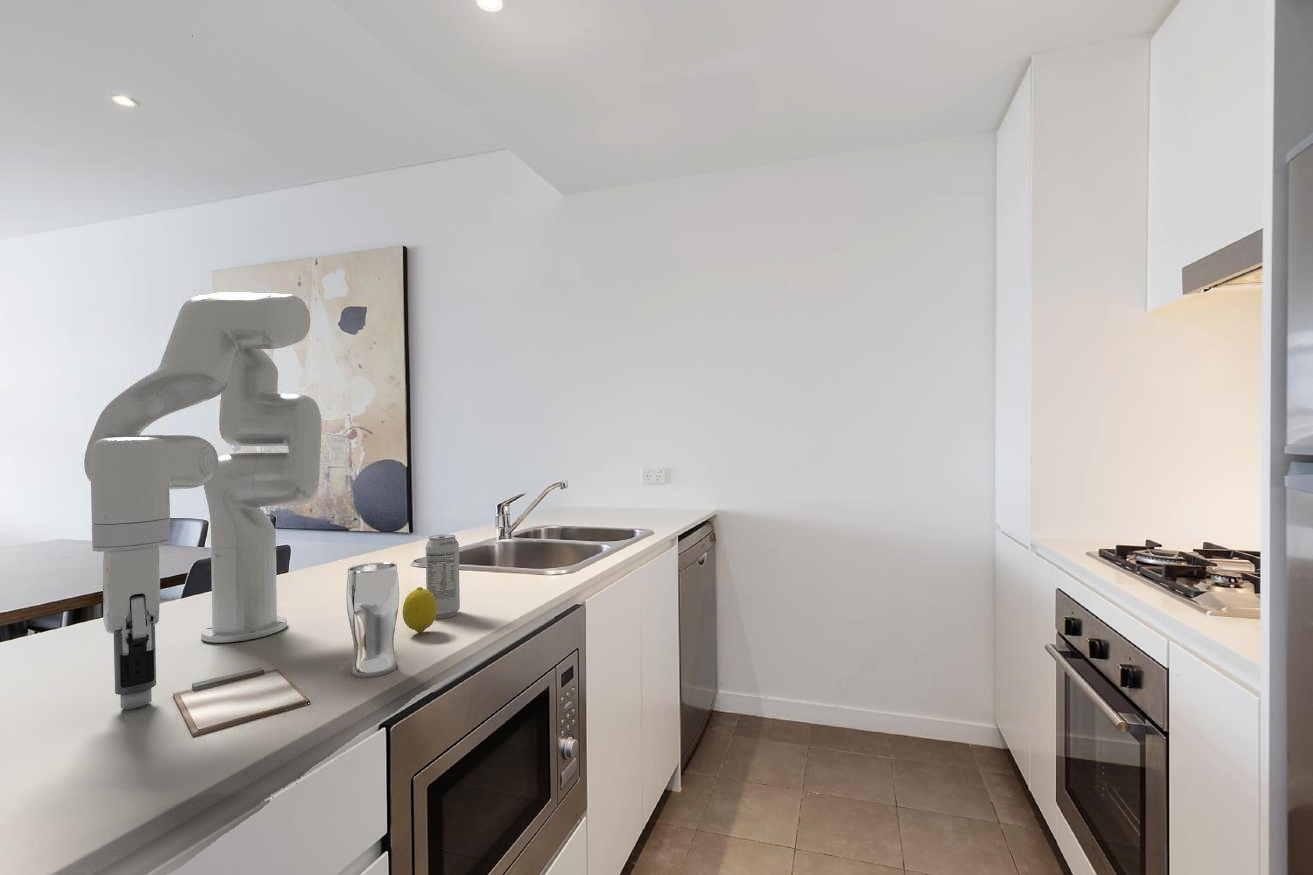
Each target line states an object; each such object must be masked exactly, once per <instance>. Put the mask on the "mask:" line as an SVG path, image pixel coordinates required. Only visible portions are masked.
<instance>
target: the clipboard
mask: <svg viewBox="0 0 1313 875" xmlns="http://www.w3.org/2000/svg"><path fill="white" fill-rule="evenodd" d="M172 698H173V700H174V702H175V703H176V706H177V707H178V710H179V712H180V714H181V716H182V718H183V720H184V722H185V723H186V726H187V728H188V730H189V732H190V734H191V736H192V738H194V737H197V736H199V735H200V736H201V735H204V734H206V733H207V734H208V733H210V732H214V731H218V730H221V729H225V728H229V727H232V726H235V725H240V724H243V723H247V722H250V721H253V720H257V719H260V718H261V719H262V718H263V717H264V718H265V717H268V716H271V715H274V714H278V713H281V712H286V711H289V710H292V709H296V708H299V706H300V707H303V706H306V705H305V704H307V705H309V704H308V703H310V704H311V700H310V699H309V697H308V696H306V695H305V693H303V691H301V690H300V688H298V687H297V686H296V685H295V684H294V683H293V681H291V680H290V679H289V678H288V677H287V676H286V675H285V674H283V672H282V671H281V670H279V669H278V668H275V669H270V670H265V669H264V668H263V667H262V666H261V667H257V668H252V669H248V670H244V671H241V672H235V673H231V674H226V675H223V676H218V677H214V678H211V679H205V680H200V681H197V682H193V683H191V689H186V690H183V691H179V692H174V693H172Z"/></svg>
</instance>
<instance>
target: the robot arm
mask: <svg viewBox="0 0 1313 875" xmlns="http://www.w3.org/2000/svg"><path fill="white" fill-rule="evenodd" d="M178 312H179V313H178V315H177V318H176V320H175V322H174V324H173V328H172V330H171V333H170V336H169V339H168V342H167V344H166V347H165V350H164V352H163V355H162V359H161V361H160V363H159V366H158V368H157V369H156V370H154V371H152V372H151V373H149V374H147V375H146V376H144V377H142V378H141V379H139V380H137V381H135V383H133V384H132V385H130V386H129V387H127V388H126V389H125V390H123V391H122V392H121V393H120V394H118V395H117V396H116V397H115V398H114V399H112V400H111V401H110V402H109V403H108V404H107V405H106V406H105V407H104V409H103V410H102V411H101V413H100V415H99V416H98V418H97V419H96V420H97V421H96V423H95V425H94V428H93V430H92V432H91V435H90V438H89V440H88V442H87V444H86V445H87V446H86V450H85V454H84V459H83V460H84V462H83V464H84V467H83V469H84V473H85V476H86V477H87V479H88V481H90V501H91V503H90V504H91V546H92V547H91V549H92V552H97V553H98V552H99V553H103V561H102V604H103V605H102V608H103V611H102V612H103V613H102V614H103V616H102V617H103V618H102V619H103V625H104V629H105V631H106V632H107V633H109V634H111V635H114V630H118V629H121V628H122V631H121V633H122V653H123V655H120V685H121V687H122V688H127V687H131V686H136V685H140V684H144V683H149V682H152V681H153V680H154V649H152V635H151V625H152V626H154V625H155V626H156V625H157V624H158V623H159V622H160V621H159V619H160V607H161V606H160V604H161V603H160V602H161V601H160V600H161V566H160V565H161V562H160V547H162V546H165V545H166V546H167V545H169V544H171V512H170V511H171V509H170V507H171V504H170V503H171V502H170V490H188V489H189V490H190V489H194V488H199V487H201V486H203V490H204V493H205V497H206V498H205V499H206V502H207V506H208V513H209V514H208V515H209V523H210V524H209V525H210V546H211V547H210V551H211V552H210V553H211V554H210V555H211V559H210V560H211V565H210V566H211V612H212V613H211V618H212V619H211V622H212V623H211V624H212V625H210V626H207V627H206V628H204V629H202V631H201V633H200V639H201V640H202V641H203V642H207V643H214V644H215V643H216V644H217V643H218V644H222V643H223V644H224V643H234V642H235V643H236V642H243V641H249V640H254V639H259V638H263V637H268V636H270V635H274V634H275V633H276V634H277V633H278V632H280V631H282V630H284V629H285V628H287V626H288V619H287V618H286V617H284V616H280V615H278V605H277V604H278V603H277V602H278V600H277V598H278V596H277V594H278V593H277V592H278V591H277V589H278V588H277V584H278V583H277V535H276V529H275V526H274V524H273V522H272V521H271V519H270V517H268V515H267V514H266V513H265V511H263V510H262V509H261V508H264V507H285V506H301V505H305V504H308V503H311V501H313V500H314V499H315V498H316V495H317V494H318V491H319V486H320V472H321V470H320V468H321V454H322V453H321V452H322V450H321V448H322V416H321V411H320V407H319V405H318V404H317V402H316V401H315V400H314V399H313V398H312V397H311V396H308V395H305V394H301V393H278V387H279V386H278V382H279V370H278V367H277V366H276V364H275V362H274V361H273V360H272V358H271V357H270V356H269V355H268V354H267V353H266V352H265V351H264V350H276V349H282V348H287V347H289V346H292V345H295V344H298V343H300V342H302V341H303V340H304V339H305V338H306V337H307V335H308V334H309V331H310V327H311V313H310V310H309V308H308V305H307V304H306V303H305V302H304V300H303V299H302V298H300V297H299V296H297V295H294V294H287V293H285V294H284V293H261V292H260V293H256V292H255V293H254V292H231V291H230V292H218V293H217V292H215V293H211V294H206V295H198V296H195V297H191V298H189V299H187V300H186V301H185V302H184V303H183V305H182V306H181V307H180V309H179V311H178ZM218 396H220V403H219V415H218V416H219V417H218V425H219V433H220V437H221V439H222V440H223V441H225V442H226V443H227V444H229V445H232V446H237V447H238V446H239V447H287V448H288V452H237V453H230V454H229V453H228V454H224V455H220V456H219V455H218V452H217V450H216V448H215V447H214V446H213V444H211V443H210V442H209V441H208V440H206V439H204V438H202V437H200V436H195V435H189V434H188V435H187V434H185V435H184V434H175V435H174V434H171V435H169V434H168V435H166V434H165V435H162V434H158V435H157V434H153V435H151V434H149V435H146V434H145V435H141V433H142V432H144V430H145V429H147V427H149V426H150V425H151V424H152V423H154V422H156V421H157V420H159V419H161V418H163V417H166V416H167V415H170V414H172V413H175V412H179V411H182V410H184V409H187V408H190V407H193V406H196V405H199V404H202V403H203V402H206V401H210V400H211V399H214V398H216V397H218ZM130 607H131V610H130ZM151 616H153V617H151ZM130 623H132V628H128V629H126V624H130ZM131 633H132V636H129V639H128V634H131ZM128 644H129V645H128Z"/></svg>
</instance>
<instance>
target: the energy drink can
mask: <svg viewBox="0 0 1313 875" xmlns="http://www.w3.org/2000/svg"><path fill="white" fill-rule="evenodd" d="M425 589H426V590H428V591H430V592H431V593H432V594H433V596H434V598H435V601H436V605H437V614H436V618H435V619H447V618H451V617H454V616H457V615H458V611H459V610H460V608H461V607H460V606H461V602H460V601H461V600H460V599H461V598H460V592H461V591H460V544H459V541H458V540H457V539H456V535H455V534H436V535H431V536H429V537H428V541H427V543H426V545H425Z"/></svg>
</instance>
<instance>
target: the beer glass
mask: <svg viewBox="0 0 1313 875" xmlns="http://www.w3.org/2000/svg"><path fill="white" fill-rule="evenodd" d="M399 586H400V585H399V574H398V564H397V563H396V562H395V563H394V562H389V561H388V562H387V561H385V562H384V561H382V562H381V561H380V562H370V563H369V562H368V563H362V564H357V565H353V566H351V567H349V568H347V579H346V596H345V597H346V610H347V616H348V622H349V628H350V630H351V636H352V641H353V658H352V664H351V669H350V674H351V675H352V676H353V677H355V678H361V679H362V678H366V679H367V678H374V677H375V678H376V677H380V676H384V675H388V674H389V673H391V672H393V671H394V670H396V668H397V667H398V664H397V659H396V658H397V657H396V652H395V644H394V642H395V640H394V639H395V631H396V625H397V620H398V612H399V604H400V587H399Z"/></svg>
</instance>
